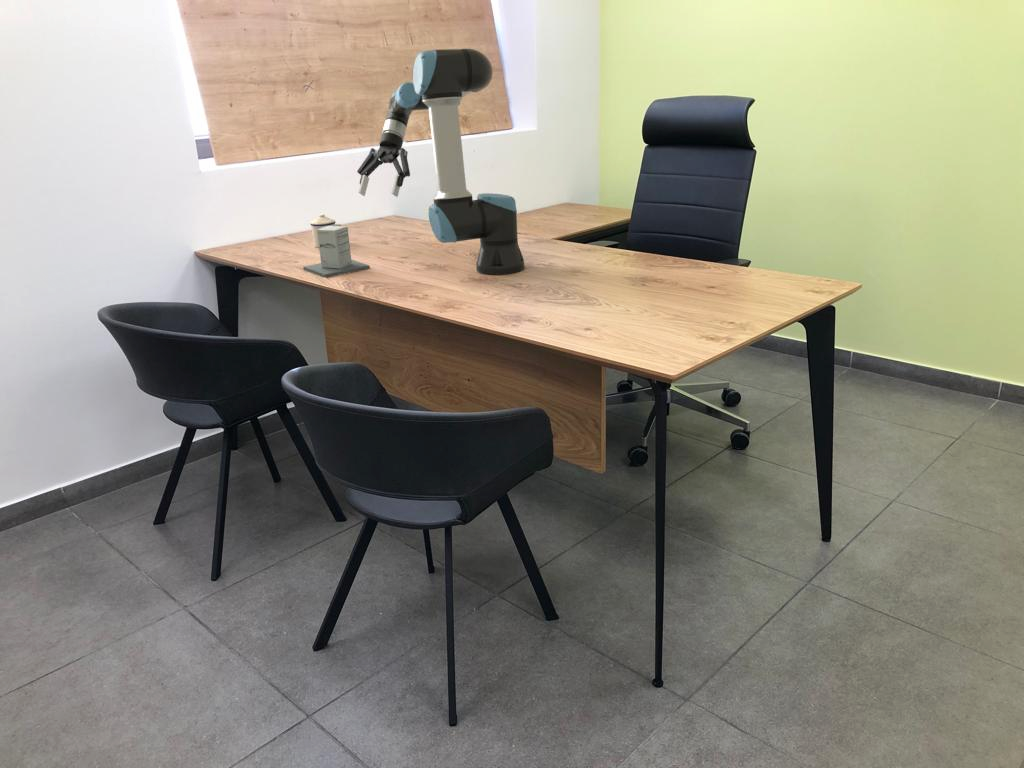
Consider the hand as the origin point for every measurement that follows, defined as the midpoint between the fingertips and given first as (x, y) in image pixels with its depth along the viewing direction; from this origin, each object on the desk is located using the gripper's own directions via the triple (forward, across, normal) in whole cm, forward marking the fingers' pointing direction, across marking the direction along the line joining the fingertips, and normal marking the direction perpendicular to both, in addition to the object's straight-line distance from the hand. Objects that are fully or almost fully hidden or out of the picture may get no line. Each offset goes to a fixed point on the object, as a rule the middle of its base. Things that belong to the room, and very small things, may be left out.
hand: (377, 194), depth 272 cm
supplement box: (+28, +5, +5) cm, 29 cm away
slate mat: (+29, +5, +5) cm, 30 cm away
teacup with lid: (+12, +33, -21) cm, 40 cm away
